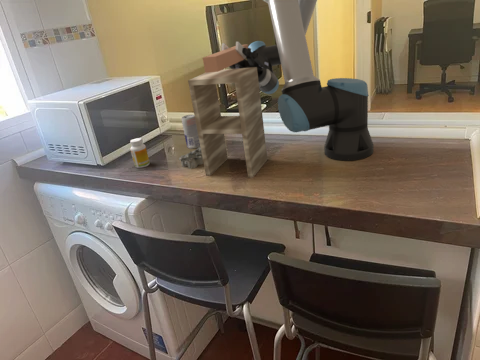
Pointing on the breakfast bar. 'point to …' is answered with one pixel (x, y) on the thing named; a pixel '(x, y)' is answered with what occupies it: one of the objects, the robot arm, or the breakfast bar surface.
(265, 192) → the breakfast bar surface
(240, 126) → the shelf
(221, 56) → the bar
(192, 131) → the energy drink
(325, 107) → the robot arm
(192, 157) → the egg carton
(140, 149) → the supplement bottle
